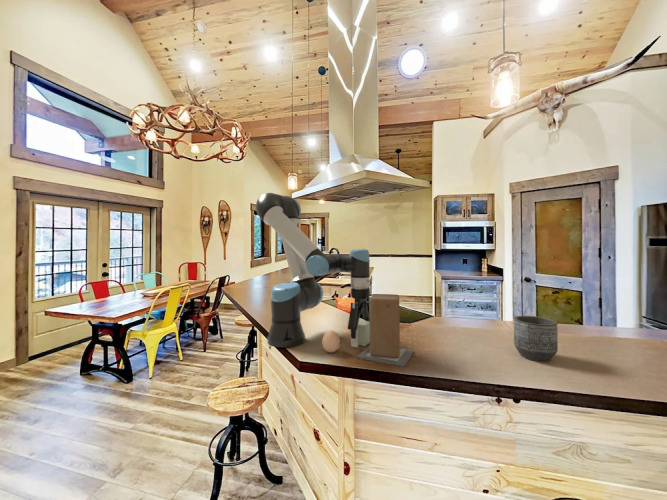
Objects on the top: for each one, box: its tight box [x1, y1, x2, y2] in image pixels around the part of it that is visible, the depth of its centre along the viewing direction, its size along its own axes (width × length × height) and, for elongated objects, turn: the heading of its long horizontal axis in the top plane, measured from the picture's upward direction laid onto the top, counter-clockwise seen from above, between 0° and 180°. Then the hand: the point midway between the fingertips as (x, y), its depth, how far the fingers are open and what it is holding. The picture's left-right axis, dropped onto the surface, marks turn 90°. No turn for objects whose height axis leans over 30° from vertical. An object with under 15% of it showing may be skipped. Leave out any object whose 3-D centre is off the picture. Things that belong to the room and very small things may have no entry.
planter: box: [513, 315, 559, 363], centre depth 96 cm, size 12×12×13 cm
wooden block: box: [369, 293, 401, 358], centre depth 100 cm, size 10×10×20 cm
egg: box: [321, 329, 341, 353], centre depth 103 cm, size 7×7×8 cm
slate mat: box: [357, 344, 414, 368], centre depth 100 cm, size 16×14×1 cm
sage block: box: [357, 320, 370, 347], centre depth 113 cm, size 6×6×8 cm
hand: (361, 341), depth 113 cm, fingers open, 12 cm apart
